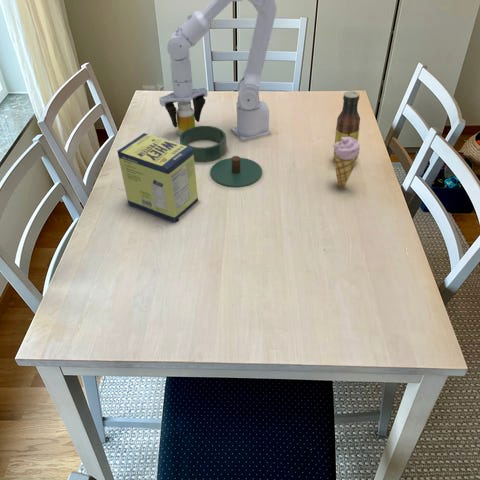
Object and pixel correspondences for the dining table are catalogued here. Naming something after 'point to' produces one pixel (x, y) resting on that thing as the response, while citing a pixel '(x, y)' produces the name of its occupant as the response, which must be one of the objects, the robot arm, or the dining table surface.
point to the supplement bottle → (185, 116)
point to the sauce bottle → (348, 118)
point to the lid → (236, 172)
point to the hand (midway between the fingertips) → (186, 123)
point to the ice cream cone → (345, 158)
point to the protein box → (159, 176)
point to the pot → (205, 134)
